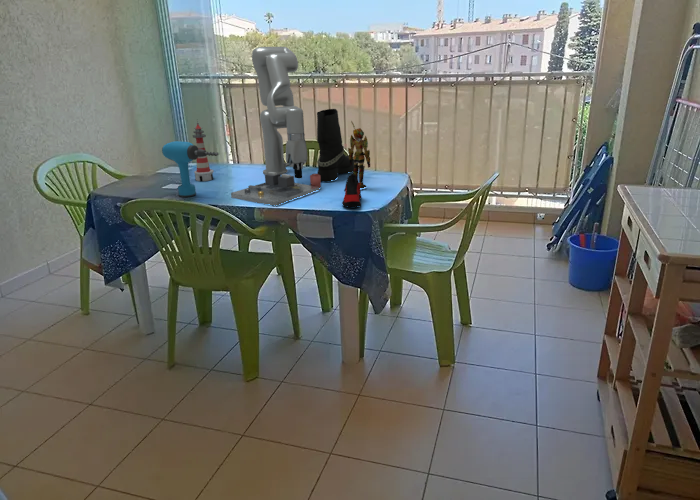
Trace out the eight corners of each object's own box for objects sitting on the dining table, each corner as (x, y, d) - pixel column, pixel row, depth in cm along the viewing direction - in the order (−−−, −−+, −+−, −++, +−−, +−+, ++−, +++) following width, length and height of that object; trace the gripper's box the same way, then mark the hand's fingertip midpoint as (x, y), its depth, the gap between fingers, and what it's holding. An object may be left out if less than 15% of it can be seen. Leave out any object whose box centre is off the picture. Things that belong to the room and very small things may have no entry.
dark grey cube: (273, 182, 234) (272, 170, 233) (281, 183, 232) (280, 172, 230) (265, 184, 231) (264, 173, 229) (273, 185, 228) (272, 174, 226)
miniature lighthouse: (217, 177, 255) (210, 115, 244) (210, 181, 246) (203, 117, 235) (199, 177, 256) (191, 115, 245) (192, 181, 247) (183, 118, 236)
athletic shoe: (341, 211, 198) (340, 181, 194) (343, 197, 217) (343, 169, 213) (360, 211, 198) (360, 181, 193) (361, 197, 217) (361, 169, 212)
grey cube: (286, 184, 230) (285, 172, 228) (294, 185, 227) (293, 174, 225) (278, 186, 226) (277, 175, 224) (286, 188, 224) (286, 176, 222)
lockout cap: (315, 186, 234) (314, 172, 231) (322, 188, 231) (322, 173, 229) (308, 189, 230) (307, 174, 228) (316, 190, 228) (315, 175, 225)
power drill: (229, 196, 220) (223, 142, 212) (216, 201, 213) (210, 145, 204) (176, 191, 230) (169, 139, 222) (163, 196, 223) (155, 142, 214)
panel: (276, 183, 240) (275, 176, 239) (319, 191, 226) (319, 183, 225) (231, 197, 219) (230, 189, 218) (275, 206, 205) (275, 198, 203)
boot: (360, 170, 267) (362, 105, 255) (330, 185, 238) (331, 112, 225) (339, 167, 272) (340, 103, 259) (307, 181, 242) (307, 110, 230)
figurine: (373, 188, 229) (373, 119, 218) (366, 192, 223) (366, 122, 212) (352, 185, 234) (351, 118, 223) (345, 189, 228) (343, 120, 217)
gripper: (300, 134, 233) (302, 174, 239) (278, 138, 222) (281, 180, 228) (313, 135, 229) (315, 175, 235) (291, 139, 217) (293, 182, 224)
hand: (298, 177), depth 232 cm, fingers closed
